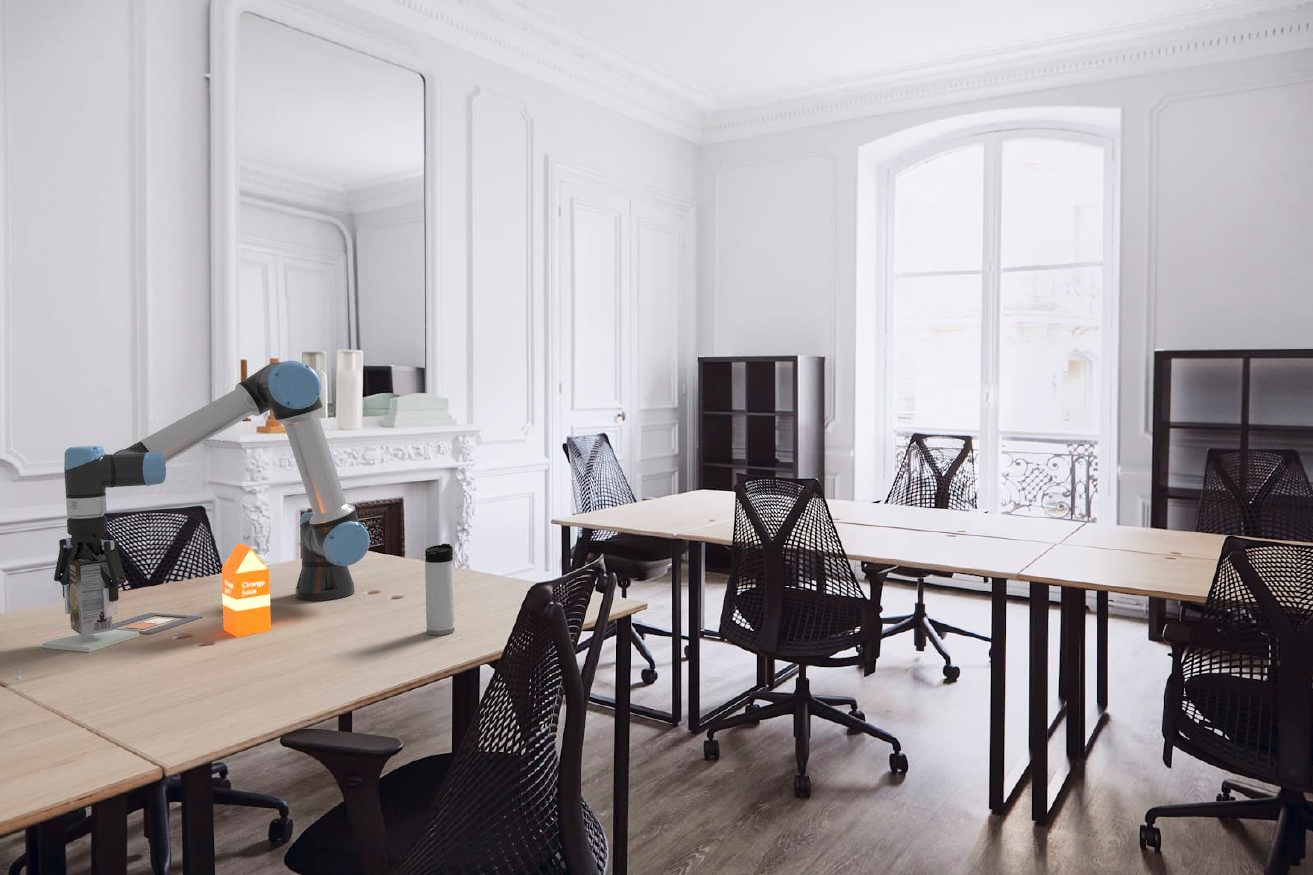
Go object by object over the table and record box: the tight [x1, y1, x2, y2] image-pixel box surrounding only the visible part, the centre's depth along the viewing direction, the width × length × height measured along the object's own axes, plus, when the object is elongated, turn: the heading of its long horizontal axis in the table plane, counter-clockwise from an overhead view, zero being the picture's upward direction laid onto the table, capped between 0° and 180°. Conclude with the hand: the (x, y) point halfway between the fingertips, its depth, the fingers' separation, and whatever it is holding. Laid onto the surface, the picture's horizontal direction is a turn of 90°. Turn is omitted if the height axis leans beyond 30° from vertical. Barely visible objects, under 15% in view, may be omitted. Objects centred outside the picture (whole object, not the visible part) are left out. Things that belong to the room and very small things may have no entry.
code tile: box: [112, 612, 203, 635], centre depth 216 cm, size 16×15×1 cm
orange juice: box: [221, 543, 272, 638], centre depth 209 cm, size 8×9×20 cm
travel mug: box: [424, 543, 455, 636], centre depth 206 cm, size 6×7×20 cm
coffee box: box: [68, 557, 113, 636], centre depth 200 cm, size 9×6×16 cm
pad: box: [42, 630, 140, 653], centre depth 201 cm, size 13×13×1 cm
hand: (91, 614), depth 201 cm, fingers closed on coffee box, 10 cm apart
